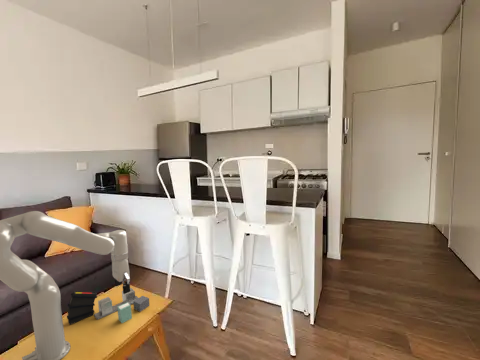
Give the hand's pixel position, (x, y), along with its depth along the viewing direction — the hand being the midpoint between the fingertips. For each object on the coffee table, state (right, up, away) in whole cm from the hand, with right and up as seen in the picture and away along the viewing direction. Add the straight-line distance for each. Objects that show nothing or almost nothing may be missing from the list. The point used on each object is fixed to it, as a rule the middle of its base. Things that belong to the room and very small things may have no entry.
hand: (122, 288), depth 126 cm
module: (0, -16, +2) cm, 16 cm away
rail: (-8, -15, +11) cm, 20 cm away
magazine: (-22, -17, +4) cm, 28 cm away
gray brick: (+5, -15, +11) cm, 19 cm away
